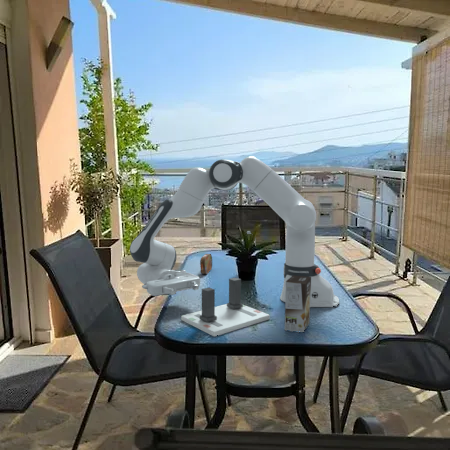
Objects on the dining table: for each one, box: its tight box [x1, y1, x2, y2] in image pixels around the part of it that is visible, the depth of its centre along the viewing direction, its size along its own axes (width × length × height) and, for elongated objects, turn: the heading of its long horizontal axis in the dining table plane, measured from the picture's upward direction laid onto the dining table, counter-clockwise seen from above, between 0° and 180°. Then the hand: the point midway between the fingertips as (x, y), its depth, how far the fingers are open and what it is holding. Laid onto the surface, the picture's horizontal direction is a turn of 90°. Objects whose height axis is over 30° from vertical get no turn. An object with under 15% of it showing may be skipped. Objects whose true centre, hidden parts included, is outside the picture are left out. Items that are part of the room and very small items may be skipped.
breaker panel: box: [180, 303, 271, 338], centre depth 145 cm, size 18×24×2 cm
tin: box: [199, 253, 213, 275], centre depth 209 cm, size 15×3×8 cm, turn 168°
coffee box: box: [284, 275, 311, 333], centre depth 138 cm, size 9×6×16 cm
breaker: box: [226, 277, 244, 309], centre depth 152 cm, size 4×4×10 cm
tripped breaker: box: [200, 287, 217, 322], centre depth 139 cm, size 4×4×10 cm
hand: (185, 289), depth 148 cm, fingers open, 8 cm apart
